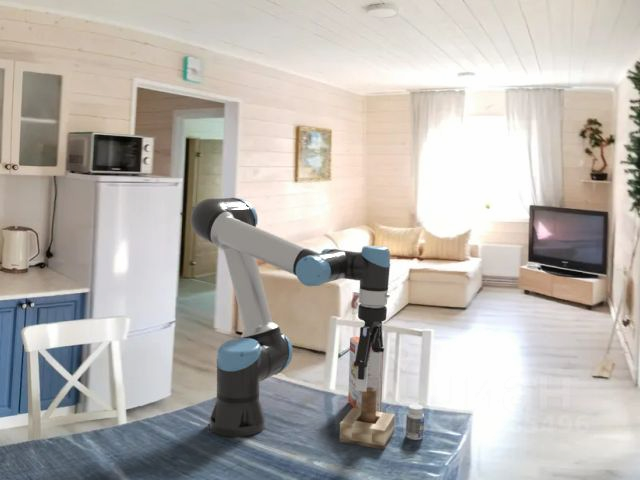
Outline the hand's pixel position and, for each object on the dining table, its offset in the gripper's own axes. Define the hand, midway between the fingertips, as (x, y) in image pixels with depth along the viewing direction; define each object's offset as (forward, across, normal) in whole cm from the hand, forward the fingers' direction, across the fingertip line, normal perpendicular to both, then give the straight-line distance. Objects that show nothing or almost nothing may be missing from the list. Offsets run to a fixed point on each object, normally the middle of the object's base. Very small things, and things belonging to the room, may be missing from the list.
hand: (367, 382), depth 159 cm
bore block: (+15, 0, -1) cm, 15 cm away
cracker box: (+15, +18, +5) cm, 24 cm away
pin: (+14, 0, -1) cm, 14 cm away
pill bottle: (+15, +5, -13) cm, 20 cm away
